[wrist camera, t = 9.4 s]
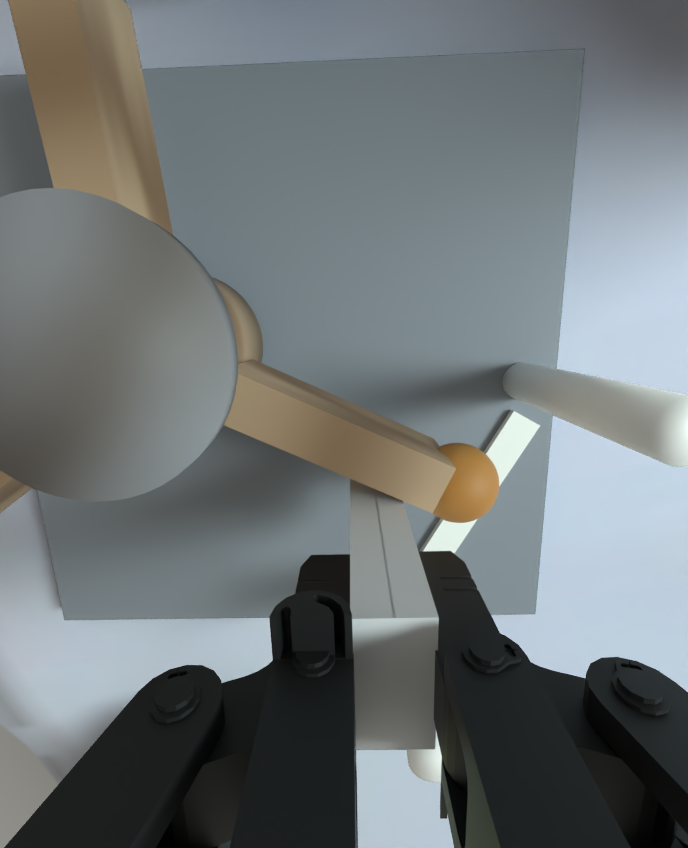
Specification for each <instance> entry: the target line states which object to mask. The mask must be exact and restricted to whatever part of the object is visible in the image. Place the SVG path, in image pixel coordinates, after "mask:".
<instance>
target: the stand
mask: <svg viewBox="0 0 688 848" xmlns="http://www.w3.org/2000/svg"><path fill="white" fill-rule="evenodd" d="M584 51H585V49H569V50H547V51H525V52H504V53H482V54H460V55H438V56H417V57H395V58H373V59H351V60H330V61H308V62H286V63H265V64H243V65H221V66H199V67H178V68H156V69H142V72H143V77H144V83H145V88H146V93H147V99H148V104H149V109H150V115H151V120H152V125H153V131H154V136H155V141H156V147H157V152H158V157H159V162H160V168H161V173H162V178H163V184H164V189H165V194H166V200H167V205H168V210H169V216H170V221H171V226H172V232H173V235H174V236H175V237H176V238H177V239H178V240H179V241H180V242H182V243H183V244H184V245H185V246H186V247H187V248H188V249H189V250H190V251H191V252H192V253H193V254H194V255H195V256H196V258H197V259H198V260H199V261H200V262H201V263H202V265H203V266H204V267H205V268H206V270H207V271H208V273H209V274H210V276H211V277H213V278H215V279H218V280H220V281H222V282H224V283H226V284H227V285H229V286H230V287H232V288H233V289H235V290H236V291H237V292H238V293H239V294H240V295H241V296H242V297H243V298H244V299H245V300H246V302H247V303H248V304H249V306H250V307H251V309H252V310H253V312H254V314H255V316H256V318H257V320H258V323H259V326H260V329H261V333H262V339H263V357H262V363H263V364H265V365H267V366H269V367H272V368H274V369H276V370H279V371H281V372H283V373H285V374H288V375H290V376H292V377H294V378H297V379H299V380H301V381H304V382H306V383H308V384H310V385H313V386H315V387H317V388H320V389H322V390H324V391H326V392H329V393H331V394H333V395H336V396H338V397H340V398H342V399H345V400H347V401H349V402H352V403H354V404H356V405H358V406H361V407H363V408H365V409H368V410H370V411H372V412H374V413H377V414H379V415H381V416H383V417H386V418H388V419H390V420H393V421H395V422H397V423H399V424H402V425H404V426H406V427H409V428H411V429H413V430H415V431H418V432H420V433H422V434H425V435H427V436H429V437H431V438H434V439H435V441H436V442H437V443H438V445H439V446H442V445H445V444H449V443H464V444H468V445H471V446H474V447H476V448H478V449H480V450H481V451H482V452H484V453H485V454H486V455H487V456H488V457H489V458H490V460H491V461H492V462H493V464H494V465H495V468H496V470H497V473H498V477H499V492H498V496H497V499H496V501H495V503H494V505H493V506H492V508H491V509H490V510H489V511H488V512H487V513H486V514H485V515H483V516H482V517H480V518H478V519H476V520H474V521H471V522H466V523H453V522H448V521H446V520H443V519H441V518H439V517H437V516H436V515H434V514H433V513H430V512H428V511H426V510H423V509H421V508H418V507H416V506H414V505H411V504H409V503H407V502H404V501H403V503H404V507H405V510H406V513H407V516H408V520H409V523H410V526H411V529H412V533H413V536H414V539H415V542H416V546H417V549H418V551H451V552H453V553H454V554H455V555H456V556H458V557H459V558H460V559H461V560H463V561H464V562H465V564H466V566H467V568H468V570H469V572H470V574H471V577H472V579H473V580H474V582H475V584H476V586H477V590H479V592H480V594H481V596H482V598H483V600H484V602H485V604H486V606H487V608H488V610H489V612H490V614H491V615H512V614H535V611H536V600H537V588H538V577H539V565H540V554H541V543H542V531H543V520H544V508H545V497H546V485H547V474H548V463H549V451H550V440H551V428H552V417H553V415H554V416H556V417H558V418H561V419H563V420H565V421H568V422H570V423H572V424H575V425H577V426H579V427H582V428H584V429H586V430H589V431H591V432H593V433H595V434H598V435H600V436H602V437H605V438H607V439H609V440H612V441H614V442H616V443H619V444H621V445H623V446H626V447H628V448H630V449H632V450H635V451H637V452H639V453H642V454H644V455H646V456H649V457H651V458H653V459H656V460H658V461H660V462H663V463H665V464H667V465H670V466H675V467H686V466H688V395H686V394H681V393H676V392H671V391H666V390H661V389H656V388H651V387H646V386H641V385H636V384H631V383H626V382H621V381H616V380H611V379H606V378H601V377H596V376H591V375H585V374H580V373H575V372H570V371H565V370H560V369H557V360H558V348H559V337H560V325H561V314H562V302H563V291H564V280H565V268H566V257H567V245H568V234H569V222H570V211H571V200H572V188H573V177H574V165H575V154H576V142H577V131H578V120H579V108H580V97H581V85H582V74H583V62H584ZM42 188H54V187H53V183H52V179H51V175H50V171H49V167H48V162H47V158H46V154H45V150H44V146H43V142H42V138H41V134H40V130H39V125H38V121H37V117H36V113H35V109H34V105H33V101H32V97H31V92H30V88H29V84H28V80H27V76H26V75H4V76H0V197H3V196H5V195H8V194H10V193H15V192H20V191H25V190H29V189H42ZM37 493H38V498H39V503H40V507H41V512H42V517H43V521H44V526H45V531H46V536H47V540H48V545H49V550H50V555H51V559H52V564H53V569H54V574H55V578H56V583H57V588H58V592H59V597H60V602H61V607H62V611H63V616H64V620H117V619H196V618H270V617H269V616H270V615H271V613H272V611H273V609H274V608H275V606H276V605H277V604H279V603H280V602H281V601H282V600H284V599H285V598H286V597H289V596H291V595H294V594H295V591H296V586H297V583H298V577H299V572H300V567H301V566H302V565H303V563H304V562H305V561H306V560H307V559H308V558H309V557H310V556H311V555H334V554H350V478H347V477H345V476H343V475H340V474H338V473H336V472H333V471H331V470H329V469H326V468H324V467H321V466H319V465H317V464H314V463H312V462H310V461H307V460H305V459H303V458H300V457H298V456H295V455H293V454H291V453H288V452H286V451H284V450H281V449H279V448H277V447H274V446H272V445H269V444H267V443H265V442H262V441H260V440H258V439H255V438H253V437H251V436H248V435H246V434H243V433H241V432H239V431H236V430H234V429H232V428H229V427H227V426H225V425H223V428H222V429H221V431H220V432H219V434H218V435H217V437H216V438H215V440H214V441H213V443H212V444H211V445H210V446H209V447H208V448H207V449H206V451H205V452H204V453H203V454H202V455H201V456H200V457H198V458H197V459H196V460H195V461H194V462H193V463H191V464H190V465H189V466H188V467H187V468H186V469H184V470H183V471H182V472H181V473H180V474H178V475H177V476H176V477H174V478H173V479H171V480H170V481H168V482H167V483H165V484H163V485H162V486H160V487H158V488H155V489H153V490H151V491H149V492H147V493H144V494H141V495H137V496H134V497H131V498H127V499H120V500H114V501H98V502H90V501H79V500H71V499H66V498H62V497H57V496H53V495H50V494H47V493H44V492H41V491H38V490H37ZM407 756H408V763H409V767H410V769H411V770H412V772H413V773H414V774H415V775H416V776H417V777H419V778H421V779H423V780H425V781H429V782H441V761H442V756H441V751H440V746H439V742H438V737H437V732H436V740H435V749H417V750H407Z"/></svg>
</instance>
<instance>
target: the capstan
mask: <svg viewBox="0 0 688 848" xmlns="http://www.w3.org/2000/svg"><path fill="white" fill-rule="evenodd" d="M8 2H9V6H10V10H11V14H12V18H13V22H14V27H15V31H16V35H17V39H18V43H19V47H20V51H21V55H22V59H23V64H24V68H25V72H26V76H27V80H28V84H29V88H30V92H31V97H32V101H33V105H34V109H35V113H36V117H37V121H38V125H39V130H40V134H41V138H42V142H43V146H44V150H45V154H46V158H47V162H48V167H49V171H50V175H51V179H52V183H53V187H54V188H42V189H29V190H25V191H20V192H15V193H10V194H8V195H5V196H3V197H0V513H1V512H2V511H3V510H5V509H6V508H7V507H8V506H10V505H11V504H12V503H13V502H15V501H16V500H17V499H19V498H20V497H21V496H22V495H24V494H25V493H26V492H27V491H29V490H30V489H31V488H34V489H36V490H38V491H41V492H44V493H47V494H50V495H53V496H57V497H62V498H66V499H71V500H79V501H90V502H98V501H114V500H120V499H127V498H131V497H134V496H137V495H141V494H144V493H147V492H149V491H151V490H153V489H155V488H158V487H160V486H162V485H163V484H165V483H167V482H168V481H170V480H171V479H173V478H174V477H176V476H177V475H178V474H180V473H181V472H182V471H183V470H184V469H186V468H187V467H188V466H189V465H190V464H191V463H193V462H194V461H195V460H196V459H197V458H198V457H200V456H201V455H202V454H203V453H204V452H205V451H206V449H207V448H208V447H209V446H210V445H211V444H212V443H213V441H214V440H215V438H216V437H217V435H218V434H219V432H220V431H221V429H222V428H223V425H225V426H227V427H229V428H232V429H234V430H236V431H239V432H241V433H243V434H246V435H248V436H251V437H253V438H255V439H258V440H260V441H262V442H265V443H267V444H269V445H272V446H274V447H277V448H279V449H281V450H284V451H286V452H288V453H291V454H293V455H295V456H298V457H300V458H303V459H305V460H307V461H310V462H312V463H314V464H317V465H319V466H321V467H324V468H326V469H329V470H331V471H333V472H336V473H338V474H340V475H343V476H345V477H347V478H350V479H352V480H355V481H357V482H359V483H362V484H364V485H366V486H369V487H371V488H373V489H376V490H378V491H381V492H383V493H385V494H388V495H390V496H392V497H395V498H397V499H400V500H402V501H404V502H407V503H409V504H411V505H414V506H416V507H418V508H421V509H423V510H426V511H428V512H430V513H433V514H434V515H436V516H437V517H439V518H441V519H443V520H446V521H448V522H453V523H466V522H471V521H474V520H476V519H478V518H480V517H482V516H483V515H485V514H486V513H487V512H488V511H489V510H490V509H491V508H492V506H493V505H494V503H495V501H496V499H497V496H498V492H499V477H498V473H497V470H496V468H495V465H494V464H493V462H492V461H491V460H490V458H489V457H488V456H487V455H486V454H485V453H484V452H482V451H481V450H480V449H478V448H476V447H474V446H471V445H468V444H464V443H449V444H445V445H442V446H439V445H438V443H437V442H436V441H435V439H434V438H431V437H429V436H427V435H425V434H422V433H420V432H418V431H415V430H413V429H411V428H409V427H406V426H404V425H402V424H399V423H397V422H395V421H393V420H390V419H388V418H386V417H383V416H381V415H379V414H377V413H374V412H372V411H370V410H368V409H365V408H363V407H361V406H358V405H356V404H354V403H352V402H349V401H347V400H345V399H342V398H340V397H338V396H336V395H333V394H331V393H329V392H326V391H324V390H322V389H320V388H317V387H315V386H313V385H310V384H308V383H306V382H304V381H301V380H299V379H297V378H294V377H292V376H290V375H288V374H285V373H283V372H281V371H279V370H276V369H274V368H272V367H269V366H267V365H265V364H263V363H262V357H263V339H262V333H261V329H260V326H259V323H258V320H257V318H256V316H255V314H254V312H253V310H252V309H251V307H250V306H249V304H248V303H247V302H246V300H245V299H244V298H243V297H242V296H241V295H240V294H239V293H238V292H237V291H236V290H235V289H233V288H232V287H230V286H229V285H227V284H226V283H224V282H222V281H220V280H218V279H215V278H213V277H211V276H210V274H209V273H208V271H207V270H206V268H205V267H204V266H203V265H202V263H201V262H200V261H199V260H198V259H197V258H196V256H195V255H194V254H193V253H192V252H191V251H190V250H189V249H188V248H187V247H186V246H185V245H184V244H183V243H182V242H180V241H179V240H178V239H177V238H176V237H175V236H174V235H173V232H172V226H171V221H170V216H169V210H168V205H167V200H166V194H165V189H164V184H163V178H162V173H161V168H160V162H159V157H158V152H157V147H156V141H155V136H154V131H153V125H152V120H151V115H150V109H149V104H148V99H147V93H146V88H145V83H144V77H143V72H142V67H141V61H140V56H139V51H138V45H137V40H136V35H135V29H134V24H133V19H132V13H131V9H130V8H129V7H128V5H127V4H126V2H125V1H124V0H8Z"/></svg>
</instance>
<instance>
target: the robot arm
mask: <svg viewBox="0 0 688 848" xmlns="http://www.w3.org/2000/svg"><path fill="white" fill-rule="evenodd" d="M269 617H270V629H271V642H272V654H273V661H272V662H271V663H270V664H269V665H268V666H266V667H264V668H263V669H261V670H259V671H258V672H255V673H253V674H250V675H248V676H245V677H242V678H238V679H235V680H231V681H228V682H224V683H221V680H220V678H219V677H218V675H217V674H216V673H215V671H214V670H211V669H209V668H207V667H204V666H202V665H185V666H181V667H178V668H174V669H170V670H168V671H166V672H164V673H162V674H161V675H159V676H157V677H155V678H153V679H152V680H151V681H150V682H149V683H148V684H146V685H145V686H144V687H143V688H142V689H141V690H140V691H139V692H138V693H137V694H136V695H135V696H134V698H133V699H132V700H131V701H130V702H129V703H128V704H127V706H126V707H125V708H124V709H123V710H122V711H121V713H120V714H119V715H118V716H117V717H116V718H115V720H114V721H113V722H112V723H111V724H110V725H109V727H108V728H107V729H106V730H105V731H104V732H103V734H102V735H101V736H100V737H99V738H98V739H97V741H96V742H95V743H94V744H93V745H92V746H91V747H90V749H89V750H88V751H87V752H86V753H85V754H84V756H83V757H82V758H81V759H80V760H79V761H78V763H77V764H76V765H75V766H74V767H73V768H72V770H71V771H70V772H69V773H68V774H67V775H66V777H65V778H64V779H63V780H62V781H61V782H60V784H59V785H58V786H57V787H56V788H55V789H54V790H53V792H52V793H51V794H50V795H49V796H48V798H47V799H46V800H45V801H44V802H43V803H42V804H41V806H40V807H39V808H38V809H37V810H36V811H35V813H34V814H33V815H32V816H31V817H30V819H29V820H28V821H27V822H26V823H25V824H24V825H23V827H22V828H21V829H20V830H19V831H18V832H17V834H16V835H15V836H14V837H13V838H12V839H11V840H10V842H9V843H8V844H7V845H6V846H5V847H4V848H358V831H357V776H356V750H417V749H435V740H436V732H437V737H438V742H439V746H440V751H441V756H442V761H441V794H440V818H447V813H448V818H449V823H450V828H451V833H452V838H453V843H454V848H688V692H686V691H685V690H684V689H683V688H682V687H680V686H679V685H678V684H677V683H675V682H674V681H672V680H671V679H669V678H668V677H666V676H665V675H663V674H662V673H660V672H659V671H657V670H656V669H653V668H651V667H649V666H646V665H644V664H642V663H639V662H637V661H633V660H628V659H624V658H619V657H610V658H600V659H598V660H597V661H595V662H593V663H591V664H590V666H589V668H588V671H587V673H586V679H585V678H581V677H577V676H573V675H569V674H564V673H560V672H556V671H552V670H549V669H546V668H543V667H539V666H537V665H535V664H533V663H531V662H530V660H529V659H528V657H527V655H526V654H525V653H524V652H523V650H522V649H521V648H520V647H519V645H518V644H516V643H515V642H513V641H512V640H511V639H509V638H508V637H506V636H505V635H502V634H500V633H499V631H498V629H497V627H496V625H495V623H494V621H493V618H492V616H491V614H490V612H489V610H488V608H487V606H486V604H485V602H484V600H483V598H482V596H481V594H480V592H479V590H477V586H476V584H475V582H474V580H473V579H472V577H471V574H470V572H469V570H468V568H467V566H466V564H465V562H464V561H463V560H461V559H460V558H459V557H458V556H456V555H455V554H454V553H453V552H451V551H418V549H417V546H416V542H415V539H414V536H413V533H412V529H411V526H410V523H409V520H408V516H407V513H406V510H405V507H404V503H403V501H402V500H400V499H397V498H395V497H392V496H390V495H388V494H385V493H383V492H381V491H378V490H376V489H373V488H371V487H369V486H366V485H364V484H362V483H359V482H357V481H355V480H352V479H350V554H334V555H311V556H310V557H309V558H308V559H307V560H306V561H305V562H304V563H303V565H302V566H301V567H300V572H299V577H298V583H297V586H296V591H295V594H294V595H291V596H289V597H286V598H285V599H284V600H282V601H281V602H280V603H279V604H277V605H276V606H275V608H274V609H273V611H272V613H271V615H270V616H269Z"/></svg>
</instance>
